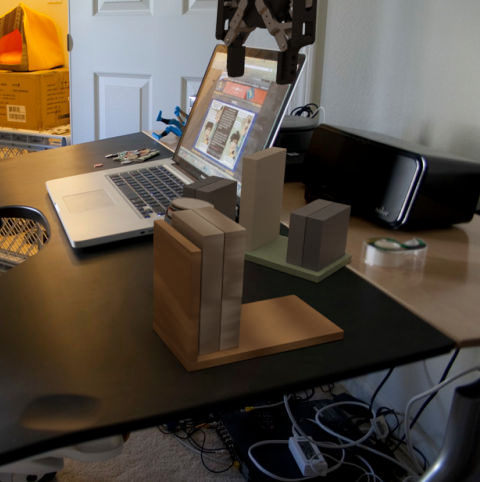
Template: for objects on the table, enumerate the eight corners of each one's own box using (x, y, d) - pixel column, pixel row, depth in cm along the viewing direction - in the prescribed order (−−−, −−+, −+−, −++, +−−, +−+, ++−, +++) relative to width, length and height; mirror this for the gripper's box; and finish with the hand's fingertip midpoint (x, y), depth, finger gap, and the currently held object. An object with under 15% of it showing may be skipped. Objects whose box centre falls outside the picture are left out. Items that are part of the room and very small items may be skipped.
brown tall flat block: (279, 237, 91) (286, 148, 87) (250, 251, 87) (257, 159, 82) (265, 233, 93) (272, 146, 88) (237, 247, 89) (242, 157, 84)
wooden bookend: (293, 301, 75) (304, 189, 70) (343, 339, 67) (359, 215, 62) (152, 329, 71) (153, 211, 66) (188, 372, 63) (191, 241, 58)
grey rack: (351, 261, 85) (359, 205, 82) (317, 283, 80) (324, 223, 77) (211, 221, 101) (213, 173, 98) (174, 237, 96) (175, 186, 93)
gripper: (343, -73, 67) (327, 83, 73) (250, -63, 79) (243, 71, 85) (290, -73, 64) (278, 91, 70) (202, -62, 76) (197, 77, 82)
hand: (258, 80), depth 77 cm, fingers open, 8 cm apart
